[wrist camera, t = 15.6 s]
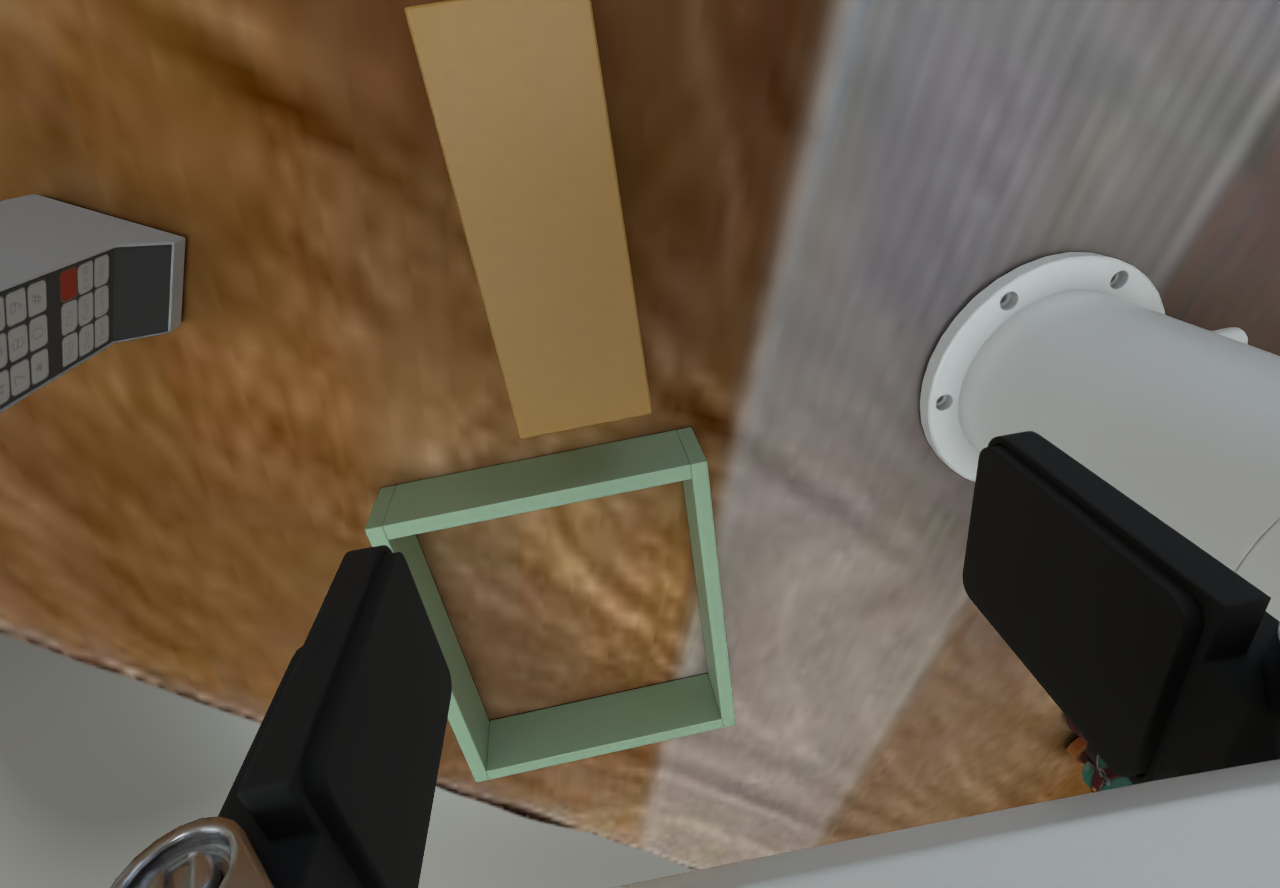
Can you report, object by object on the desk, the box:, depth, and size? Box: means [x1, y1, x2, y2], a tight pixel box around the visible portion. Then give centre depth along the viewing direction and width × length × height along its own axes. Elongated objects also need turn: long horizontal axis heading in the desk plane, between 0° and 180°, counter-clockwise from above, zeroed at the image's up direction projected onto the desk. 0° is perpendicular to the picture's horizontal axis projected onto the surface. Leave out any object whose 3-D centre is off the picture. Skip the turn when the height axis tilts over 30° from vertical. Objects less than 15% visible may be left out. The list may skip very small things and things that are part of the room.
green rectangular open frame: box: [365, 427, 735, 782], centre depth 35 cm, size 16×19×4 cm
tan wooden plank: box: [405, 0, 652, 439], centre depth 25 cm, size 6×15×4 cm, turn 8°
